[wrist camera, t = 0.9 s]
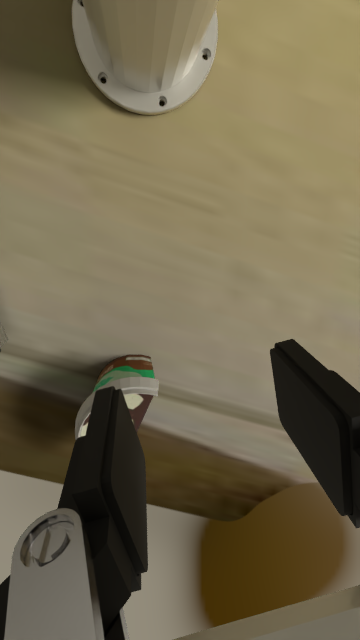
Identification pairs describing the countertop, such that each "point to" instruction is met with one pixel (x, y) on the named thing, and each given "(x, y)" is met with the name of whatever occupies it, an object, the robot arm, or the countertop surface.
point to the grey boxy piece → (2, 336)
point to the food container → (124, 388)
